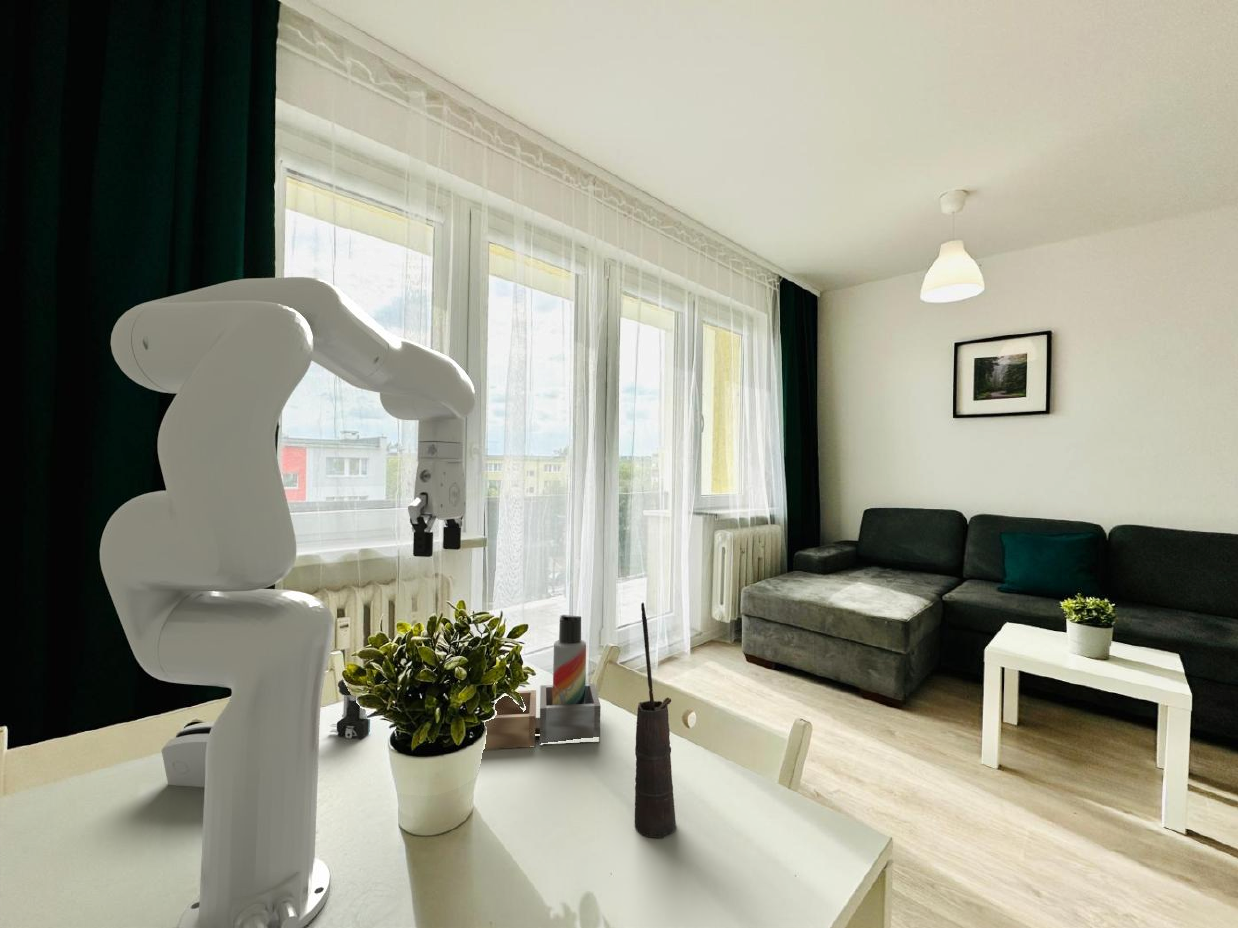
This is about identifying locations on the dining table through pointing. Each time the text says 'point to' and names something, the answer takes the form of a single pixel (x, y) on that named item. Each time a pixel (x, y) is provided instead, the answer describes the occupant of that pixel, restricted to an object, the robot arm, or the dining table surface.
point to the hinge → (187, 756)
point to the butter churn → (653, 762)
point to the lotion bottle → (569, 663)
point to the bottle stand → (542, 720)
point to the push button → (351, 717)
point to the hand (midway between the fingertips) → (438, 552)
